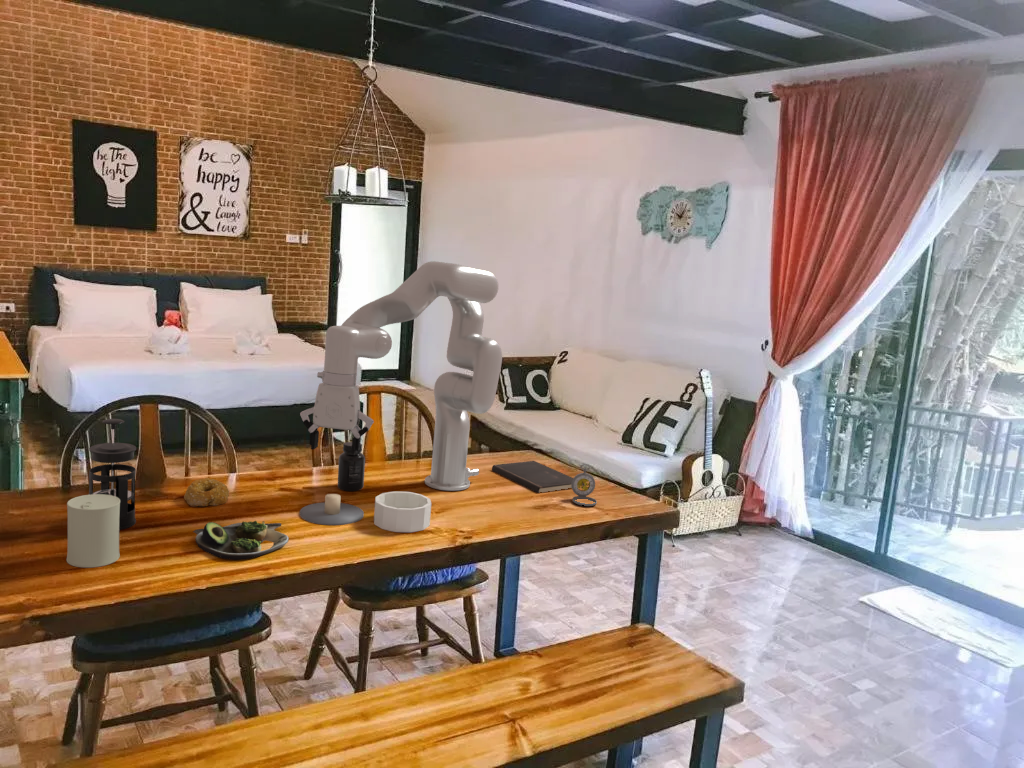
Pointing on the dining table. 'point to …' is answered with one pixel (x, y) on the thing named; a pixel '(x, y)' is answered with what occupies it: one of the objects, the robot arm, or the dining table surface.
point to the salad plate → (239, 539)
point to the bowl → (402, 511)
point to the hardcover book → (534, 476)
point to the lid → (331, 512)
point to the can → (93, 530)
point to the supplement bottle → (351, 469)
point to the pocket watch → (583, 487)
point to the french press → (115, 455)
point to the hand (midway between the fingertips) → (334, 450)
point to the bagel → (206, 493)
